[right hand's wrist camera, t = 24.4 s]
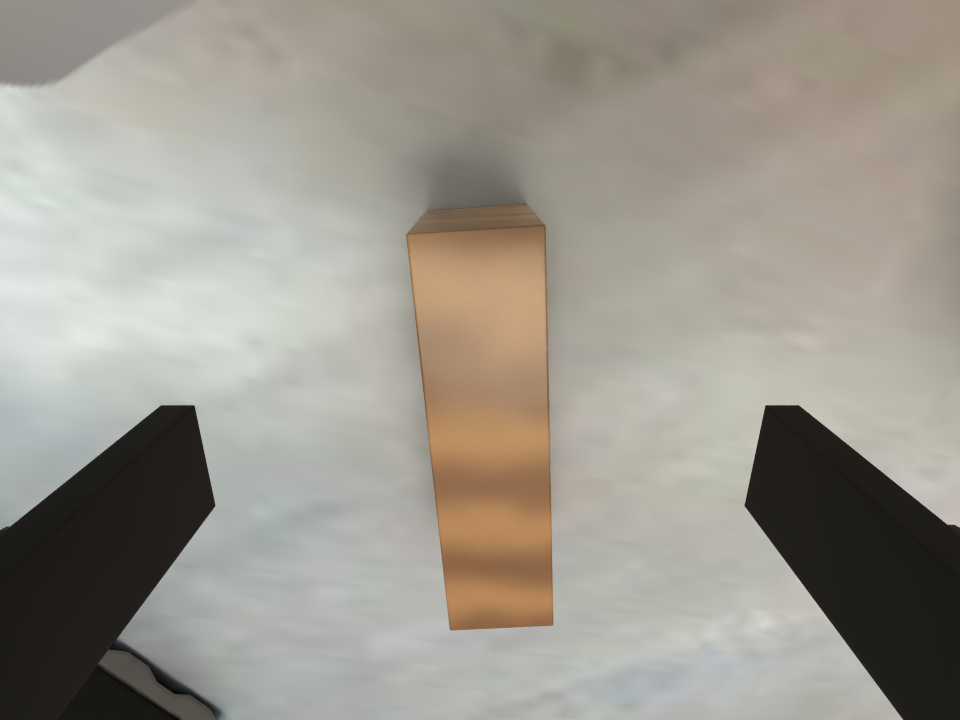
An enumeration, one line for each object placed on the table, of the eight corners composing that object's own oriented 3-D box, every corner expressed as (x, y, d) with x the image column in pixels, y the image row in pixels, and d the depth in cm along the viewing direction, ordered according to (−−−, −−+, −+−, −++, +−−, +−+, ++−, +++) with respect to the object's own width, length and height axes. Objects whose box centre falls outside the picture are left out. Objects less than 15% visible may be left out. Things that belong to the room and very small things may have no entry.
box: (426, 210, 33) (405, 233, 24) (527, 204, 33) (545, 224, 24) (456, 526, 42) (449, 631, 33) (537, 522, 42) (553, 625, 33)
